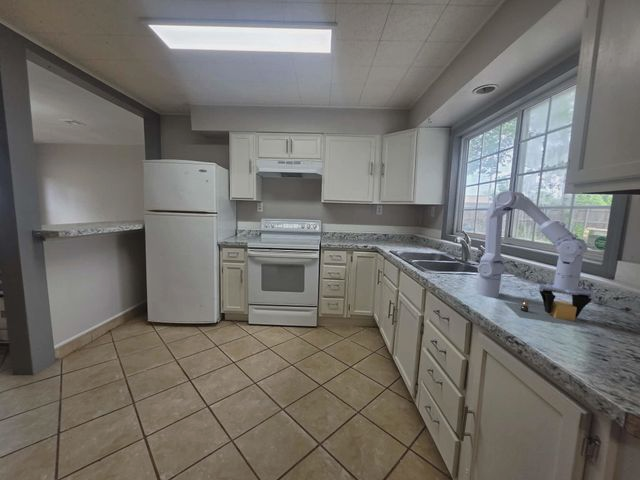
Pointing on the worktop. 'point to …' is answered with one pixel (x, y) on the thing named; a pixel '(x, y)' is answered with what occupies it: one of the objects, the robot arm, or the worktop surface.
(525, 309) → the wire post
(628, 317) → the worktop surface
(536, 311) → the plate
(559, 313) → the orange block
